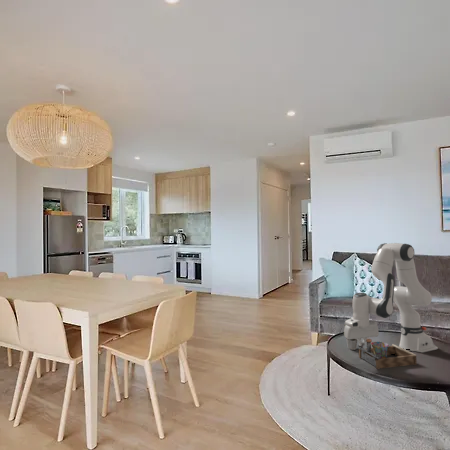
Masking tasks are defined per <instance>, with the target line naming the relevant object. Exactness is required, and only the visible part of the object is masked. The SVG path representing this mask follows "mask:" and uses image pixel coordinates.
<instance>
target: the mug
mask: <svg viewBox="0 0 450 450" xmlns="http://www.w3.org/2000/svg"><path fill="white" fill-rule="evenodd" d="M388 346H390V345H389V343H387V342H382V341H373V342H371V348H373V351H374V354H381V358H388V357H387V356H388V355H386V353H387V348H388Z"/></svg>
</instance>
